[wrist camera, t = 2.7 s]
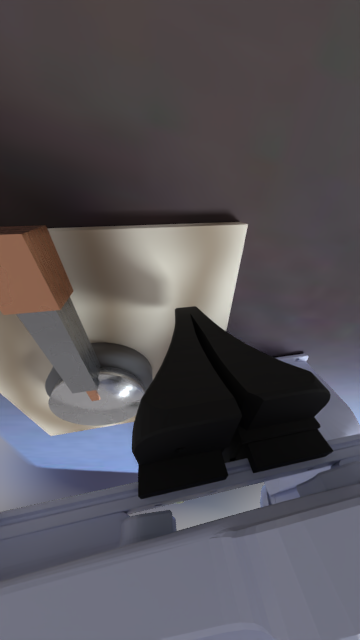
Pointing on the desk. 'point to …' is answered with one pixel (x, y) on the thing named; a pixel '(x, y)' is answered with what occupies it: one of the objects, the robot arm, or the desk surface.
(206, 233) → the board
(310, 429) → the robot arm
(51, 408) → the frying pan
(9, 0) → the desk surface
